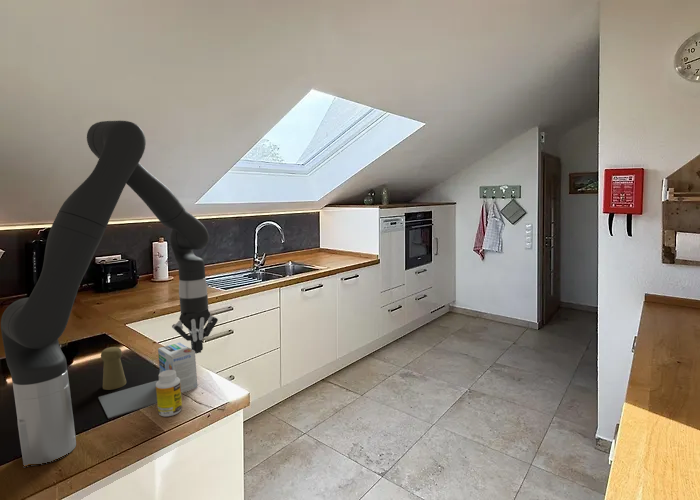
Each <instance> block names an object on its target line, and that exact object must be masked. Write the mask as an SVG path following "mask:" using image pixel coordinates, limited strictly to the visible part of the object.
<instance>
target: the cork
mask: <svg viewBox="0 0 700 500" xmlns="http://www.w3.org/2000/svg"><path fill="white" fill-rule="evenodd" d="M122 352H123V351H122V349H121V348H120V346H119V347H118V346H110V347H106V348H104V349H103V350H102V351H101V352H100V358H101V360H102V361H103V370H102V373H103V374H102V390H106V391H111V390H112V391H113V390H117V389H120V388H122V387H124V386H125V385H126V384H127V379H126V376H125V371H124V368H123V363H122V360H121V358H122V354H123V353H122Z"/></svg>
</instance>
